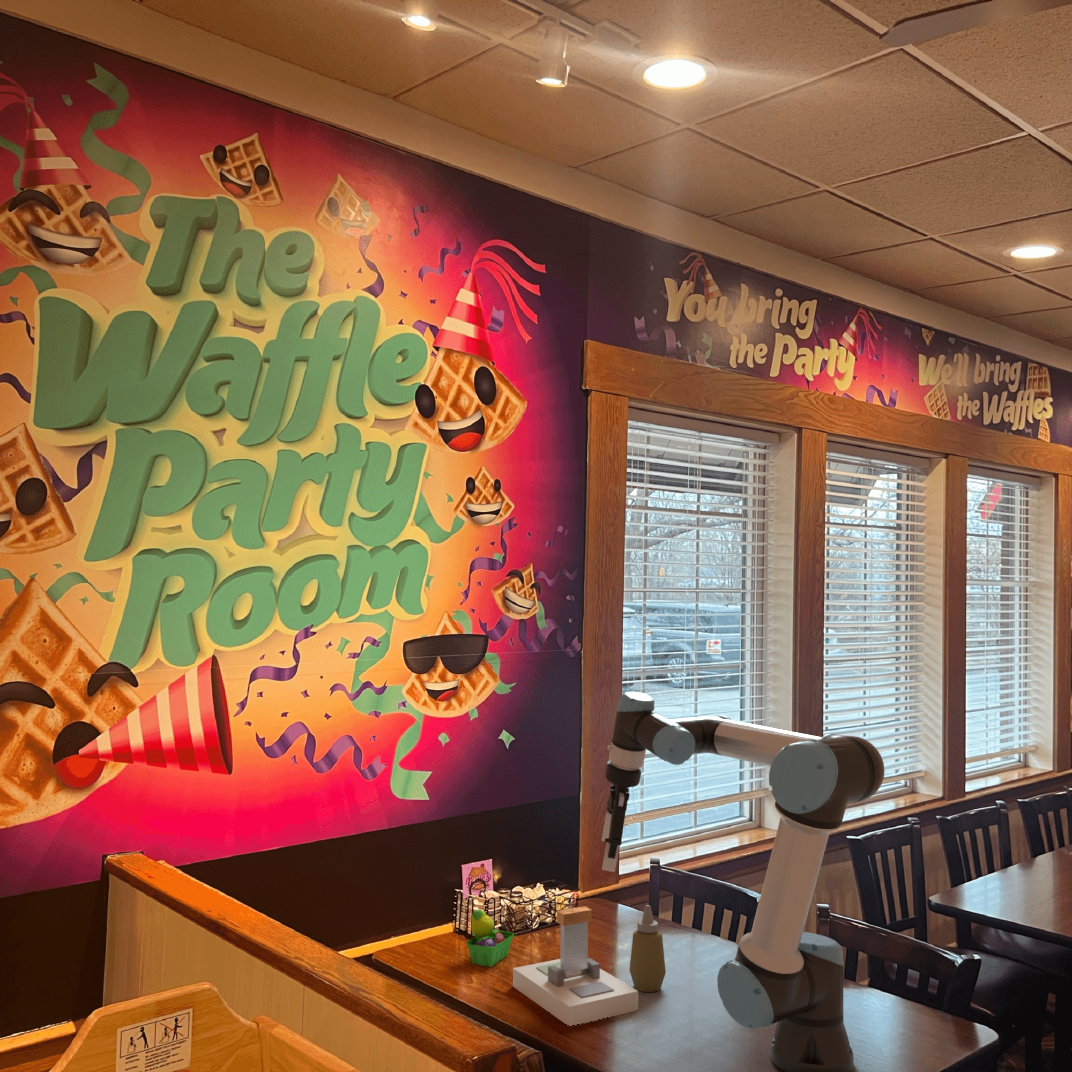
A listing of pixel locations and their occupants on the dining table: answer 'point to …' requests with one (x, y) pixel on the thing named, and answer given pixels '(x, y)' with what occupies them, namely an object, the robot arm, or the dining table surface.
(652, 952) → the squeeze bottle
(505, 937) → the fruit basket
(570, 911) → the lever
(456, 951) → the dining table surface
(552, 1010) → the switch panel
